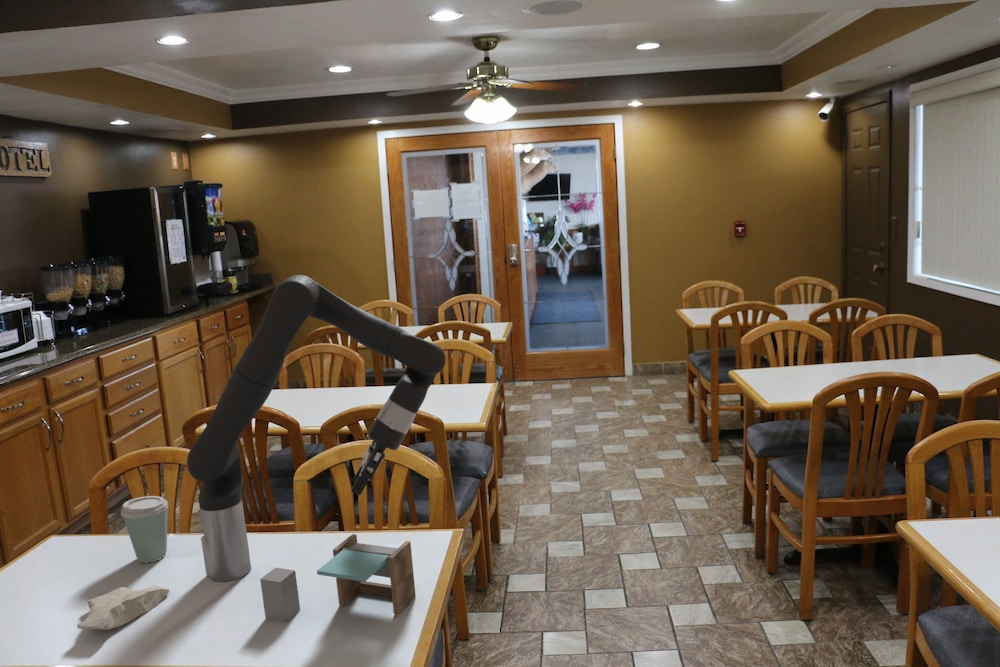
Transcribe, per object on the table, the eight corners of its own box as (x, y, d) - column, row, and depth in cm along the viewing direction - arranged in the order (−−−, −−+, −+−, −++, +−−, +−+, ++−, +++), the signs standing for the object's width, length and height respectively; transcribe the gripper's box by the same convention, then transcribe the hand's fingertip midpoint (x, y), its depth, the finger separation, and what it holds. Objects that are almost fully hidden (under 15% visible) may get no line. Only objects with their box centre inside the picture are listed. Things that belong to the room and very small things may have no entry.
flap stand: (358, 588, 173) (352, 534, 171) (415, 597, 168) (410, 541, 165) (339, 606, 167) (332, 549, 164) (398, 616, 161) (392, 557, 159)
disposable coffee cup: (160, 544, 203) (151, 489, 200) (185, 553, 196) (176, 496, 194) (120, 561, 194) (111, 504, 191) (145, 572, 188) (135, 513, 185)
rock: (47, 640, 162) (100, 644, 156) (43, 618, 162) (96, 621, 156) (130, 594, 182) (180, 597, 176) (127, 575, 181) (177, 577, 176)
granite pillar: (265, 618, 164) (260, 578, 162) (280, 606, 168) (275, 567, 166) (285, 622, 162) (280, 582, 160) (300, 609, 166) (295, 570, 164)
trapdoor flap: (358, 565, 170) (355, 539, 169) (402, 571, 166) (400, 545, 165) (320, 598, 157) (316, 570, 156) (367, 606, 153) (364, 577, 152)
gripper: (377, 411, 181) (341, 473, 180) (377, 420, 167) (339, 488, 166) (406, 426, 182) (371, 488, 181) (408, 437, 168) (370, 504, 167)
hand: (355, 488), depth 174 cm, fingers open, 8 cm apart
